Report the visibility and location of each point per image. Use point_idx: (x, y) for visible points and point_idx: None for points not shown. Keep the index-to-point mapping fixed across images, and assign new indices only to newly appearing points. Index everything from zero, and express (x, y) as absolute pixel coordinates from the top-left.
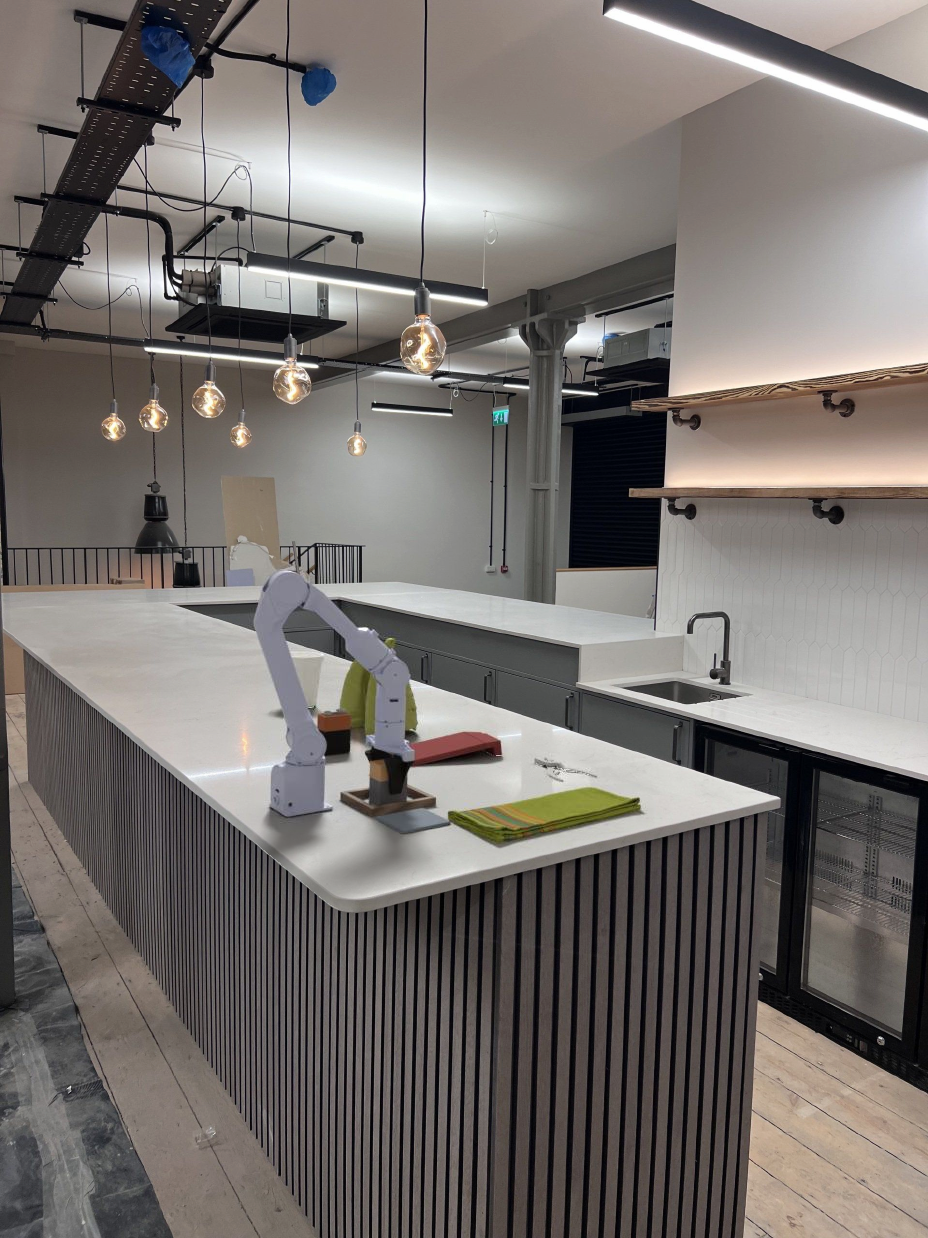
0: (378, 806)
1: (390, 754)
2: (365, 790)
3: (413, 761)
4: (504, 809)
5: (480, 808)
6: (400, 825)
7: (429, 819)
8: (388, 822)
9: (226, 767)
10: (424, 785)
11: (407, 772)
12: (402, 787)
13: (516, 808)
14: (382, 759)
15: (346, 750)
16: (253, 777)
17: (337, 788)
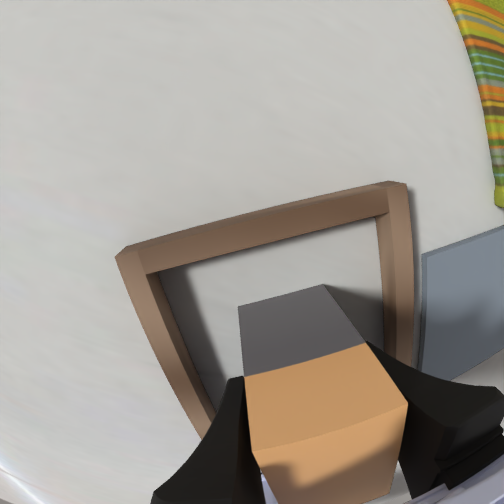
0: None
1: (239, 492)
2: (208, 415)
3: (500, 392)
4: (495, 30)
5: (486, 79)
6: (487, 348)
7: (499, 271)
8: (462, 372)
9: (10, 484)
10: (89, 127)
11: (438, 379)
12: (382, 351)
13: (488, 1)
14: (278, 500)
15: None
16: (49, 489)
17: (104, 428)
